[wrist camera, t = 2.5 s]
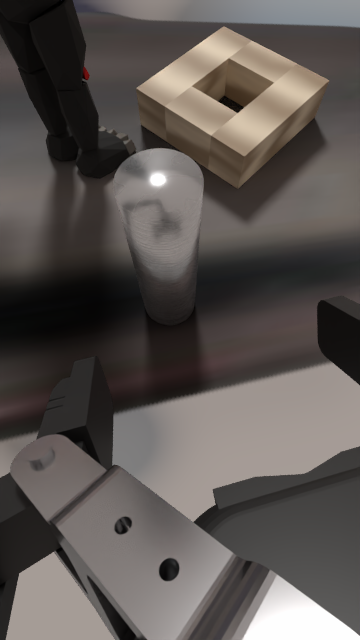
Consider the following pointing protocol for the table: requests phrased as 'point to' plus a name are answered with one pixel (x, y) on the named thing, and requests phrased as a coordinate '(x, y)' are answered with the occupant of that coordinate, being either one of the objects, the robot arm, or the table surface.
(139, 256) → the pin
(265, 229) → the table surface
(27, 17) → the toy
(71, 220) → the table surface
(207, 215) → the table surface
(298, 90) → the socket
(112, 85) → the table surface
